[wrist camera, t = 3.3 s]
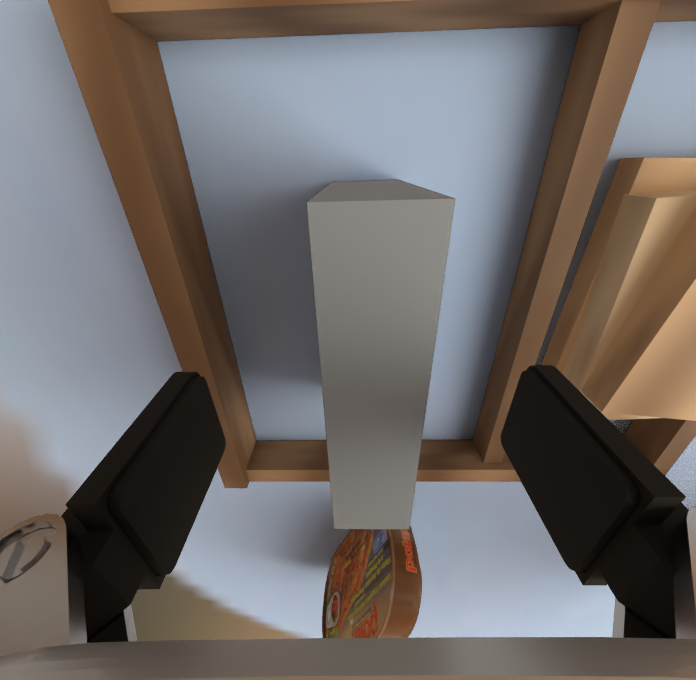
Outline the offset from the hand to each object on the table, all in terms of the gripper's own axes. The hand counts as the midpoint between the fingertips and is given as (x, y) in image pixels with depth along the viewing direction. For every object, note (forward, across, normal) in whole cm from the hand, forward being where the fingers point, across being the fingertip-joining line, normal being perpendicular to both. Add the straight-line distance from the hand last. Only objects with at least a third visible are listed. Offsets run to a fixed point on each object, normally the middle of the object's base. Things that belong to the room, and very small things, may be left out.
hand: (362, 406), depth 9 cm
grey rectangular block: (+9, 0, 0) cm, 9 cm away
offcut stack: (+9, -15, 0) cm, 17 cm away
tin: (+9, 0, +24) cm, 26 cm away
